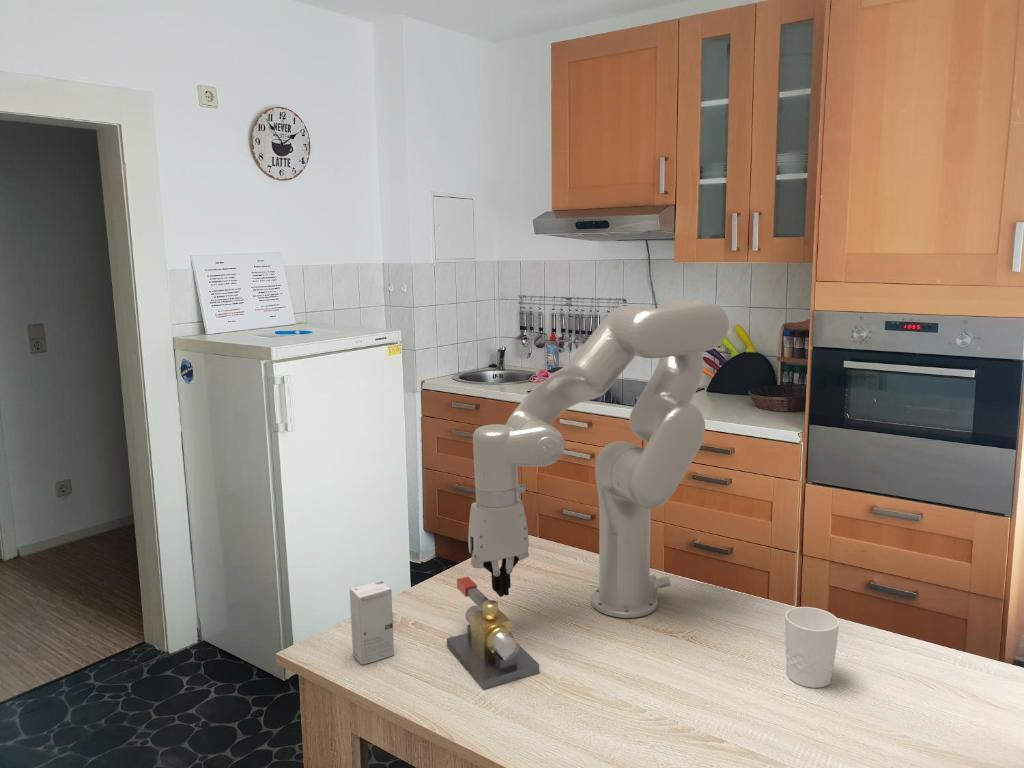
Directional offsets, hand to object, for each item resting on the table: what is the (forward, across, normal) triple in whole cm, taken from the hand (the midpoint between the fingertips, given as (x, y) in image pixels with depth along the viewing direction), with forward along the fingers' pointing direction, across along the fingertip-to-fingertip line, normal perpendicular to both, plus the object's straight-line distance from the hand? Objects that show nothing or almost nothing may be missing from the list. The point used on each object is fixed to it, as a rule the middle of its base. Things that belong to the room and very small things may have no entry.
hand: (501, 592), depth 141 cm
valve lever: (-1, +6, +4) cm, 7 cm away
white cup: (+8, -39, +34) cm, 52 cm away
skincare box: (+6, +24, 0) cm, 24 cm away
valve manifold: (+7, +6, +9) cm, 13 cm away
